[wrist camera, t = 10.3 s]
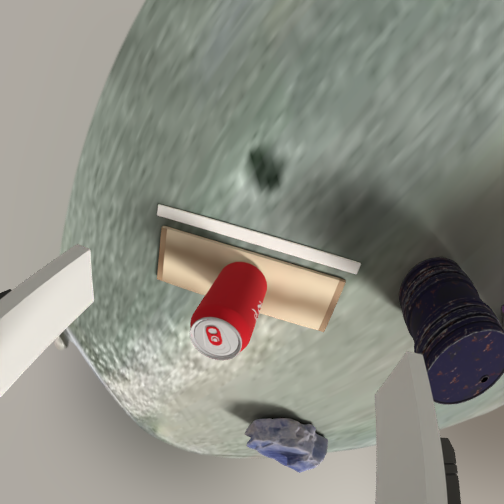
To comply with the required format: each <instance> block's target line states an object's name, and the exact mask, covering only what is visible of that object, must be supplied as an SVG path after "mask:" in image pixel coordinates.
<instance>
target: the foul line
mask: <svg viewBox="0 0 504 504" xmlns="http://www.w3.org/2000/svg"><path fill="white" fill-rule="evenodd" d="M157 215H158V216H161V217H164V218H168V219H171V220H175V221H178V222H182V223H185V224H188V225H192V226H195V227H199V228H202V229H206V230H209V231H212V232H216V233H219V234H223V235H226V236H229V237H233V238H236V239H239V240H243V241H246V242H250V243H253V244H256V245H260V246H263V247H266V248H270V249H273V250H277V251H280V252H283V253H287V254H290V255H293V256H297V257H300V258H303V259H307V260H310V261H313V262H317V263H320V264H323V265H326V266H330V267H333V268H336V269H340V270H343V271H346V272H350V273H353V274H356V275H357V272H358V270H359V268H360V265H361V263H360V262H356V261H353V260H350V259H347V258H344V257H340V256H337V255H334V254H330V253H327V252H324V251H321V250H317V249H314V248H311V247H307V246H304V245H301V244H297V243H294V242H291V241H287V240H284V239H281V238H277V237H274V236H270V235H267V234H264V233H260V232H257V231H253V230H250V229H247V228H243V227H240V226H236V225H233V224H229V223H226V222H222V221H219V220H215V219H212V218H208V217H205V216H201V215H198V214H194V213H190V212H187V211H183V210H180V209H176V208H172V207H169V206H165V205H162V204H158V211H157Z"/></svg>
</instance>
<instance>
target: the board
mask: <svg viewBox="0 0 504 504" xmlns="http://www.w3.org/2000/svg"><path fill="white" fill-rule="evenodd" d="M233 262H246V263H250V264H252V265H254V266H255V267H257V268H258V269H259V270H260V271H261V272H262V273H263V275H264V276H265V278H266V282H267V291H266V294H265V297H264V300H263V303H262V306H261V309H260V312H259V313H261V314H264V315H268V316H271V317H274V318H278V319H281V320H284V321H288V322H291V323H294V324H298V325H301V326H305V327H308V328H312V329H315V330H319V331H322V332H324V331H325V329H326V326H327V324H328V322H329V320H330V317H331V315H332V313H333V311H334V308H335V306H336V304H337V302H338V299H339V297H340V295H341V292H342V290H343V287H344V285H345V283H346V281H345V280H344V279H341V278H337V277H334V276H331V275H327V274H324V273H321V272H317V271H314V270H311V269H307V268H304V267H301V266H297V265H294V264H291V263H287V262H284V261H281V260H277V259H274V258H271V257H267V256H264V255H261V254H257V253H254V252H251V251H247V250H244V249H241V248H237V247H234V246H231V245H227V244H224V243H221V242H217V241H214V240H211V239H207V238H204V237H201V236H197V235H194V234H191V233H187V232H184V231H181V230H177V229H174V228H171V227H167V226H162V228H161V238H160V249H159V261H158V274H157V279H159V280H161V281H164V282H167V283H170V284H173V285H176V286H179V287H181V288H184V289H187V290H190V291H193V292H196V293H199V294H202V295H206V294H207V292H208V291H209V289H210V287H211V286H212V284H213V283H214V281H215V280H216V278H217V277H218V275H219V274H220V272H221V271H222V269H223V268H224V267H225V266H227V265H228V264H230V263H233Z"/></svg>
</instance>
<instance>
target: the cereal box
mask: <svg viewBox="0 0 504 504" xmlns="http://www.w3.org/2000/svg"><path fill="white" fill-rule="evenodd" d="M502 328H503V330H504V305H502Z"/></svg>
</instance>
